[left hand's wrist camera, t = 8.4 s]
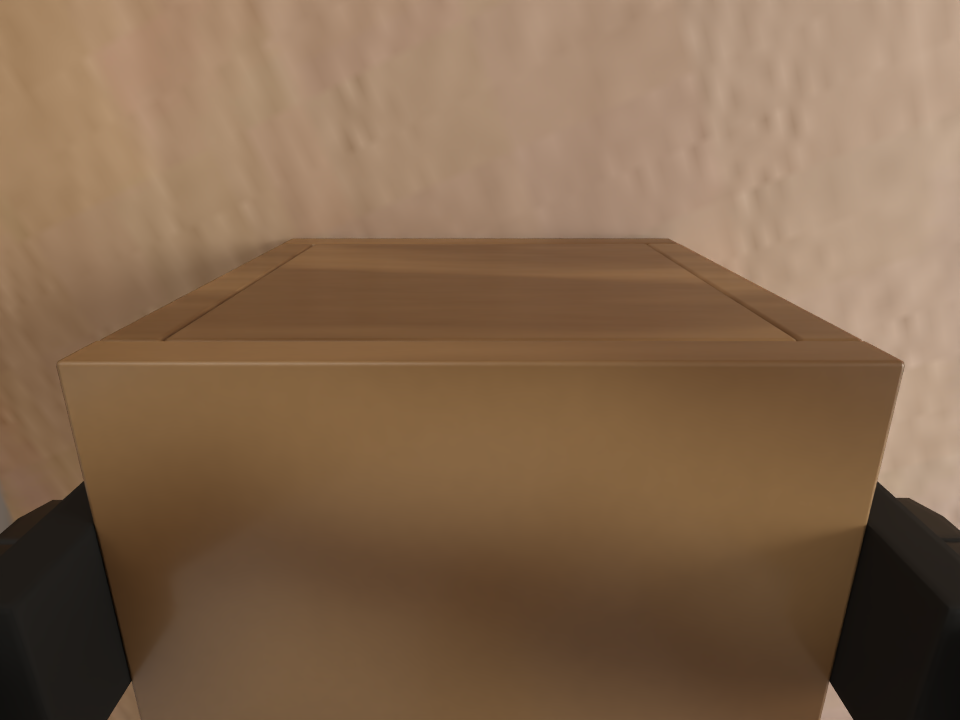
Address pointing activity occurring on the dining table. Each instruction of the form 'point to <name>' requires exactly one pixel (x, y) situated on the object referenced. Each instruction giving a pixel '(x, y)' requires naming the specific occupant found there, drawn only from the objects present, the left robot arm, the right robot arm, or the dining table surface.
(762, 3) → the dining table surface
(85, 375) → the cabinet
